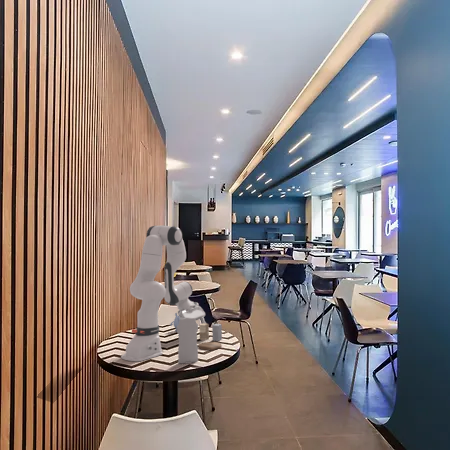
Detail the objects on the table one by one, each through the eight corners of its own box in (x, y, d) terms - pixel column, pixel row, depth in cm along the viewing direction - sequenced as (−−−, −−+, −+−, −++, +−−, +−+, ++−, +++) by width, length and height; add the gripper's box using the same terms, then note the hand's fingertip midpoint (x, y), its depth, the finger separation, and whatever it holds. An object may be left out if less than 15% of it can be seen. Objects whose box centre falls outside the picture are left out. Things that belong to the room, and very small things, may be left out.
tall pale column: (197, 359, 195) (196, 315, 195) (199, 362, 191) (198, 317, 191) (177, 362, 192) (176, 317, 192) (178, 364, 188) (177, 319, 188)
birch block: (205, 340, 231) (204, 325, 231) (199, 339, 233) (199, 324, 233) (208, 338, 234) (208, 323, 234) (203, 337, 236) (203, 323, 236)
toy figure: (185, 329, 260) (184, 311, 260) (187, 331, 254) (186, 312, 254) (169, 330, 257) (169, 312, 257) (170, 332, 251) (170, 314, 251)
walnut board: (213, 351, 208) (213, 349, 208) (193, 348, 215) (193, 346, 215) (225, 345, 219) (225, 343, 219) (206, 342, 226) (206, 340, 226)
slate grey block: (218, 341, 228) (217, 325, 228) (212, 340, 230) (212, 325, 231) (221, 339, 232) (221, 324, 232) (216, 338, 234) (215, 323, 234)
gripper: (179, 307, 231) (193, 325, 225) (198, 302, 248) (212, 318, 243) (173, 314, 233) (187, 332, 228) (193, 308, 250) (206, 325, 245)
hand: (200, 325), depth 235 cm, fingers open, 8 cm apart
